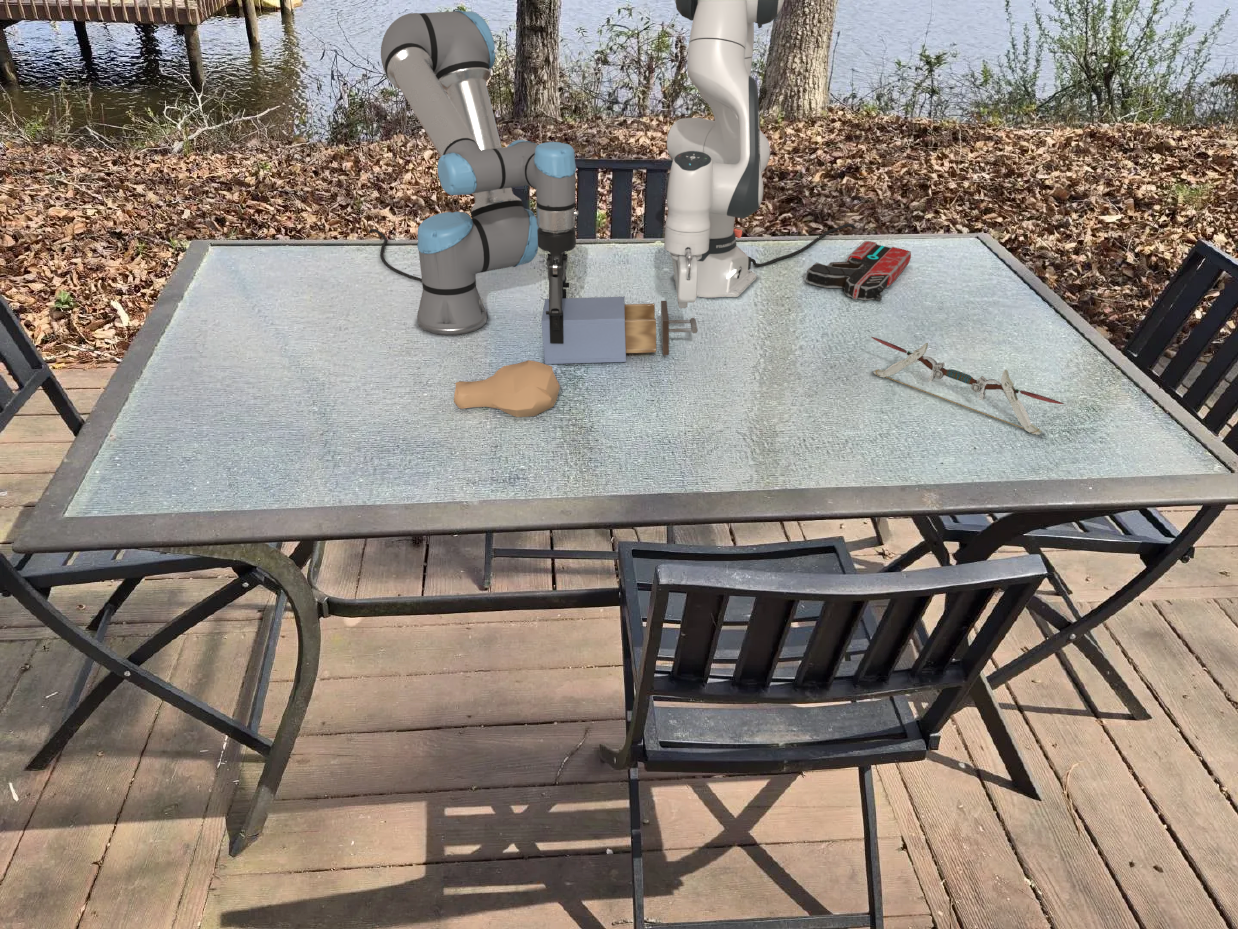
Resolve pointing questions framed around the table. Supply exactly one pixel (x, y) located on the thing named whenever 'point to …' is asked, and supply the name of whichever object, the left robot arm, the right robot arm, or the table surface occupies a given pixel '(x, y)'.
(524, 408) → the squash
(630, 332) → the drawer
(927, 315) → the table surface
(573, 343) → the cabinet
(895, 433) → the table surface
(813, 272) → the gun
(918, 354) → the bow
